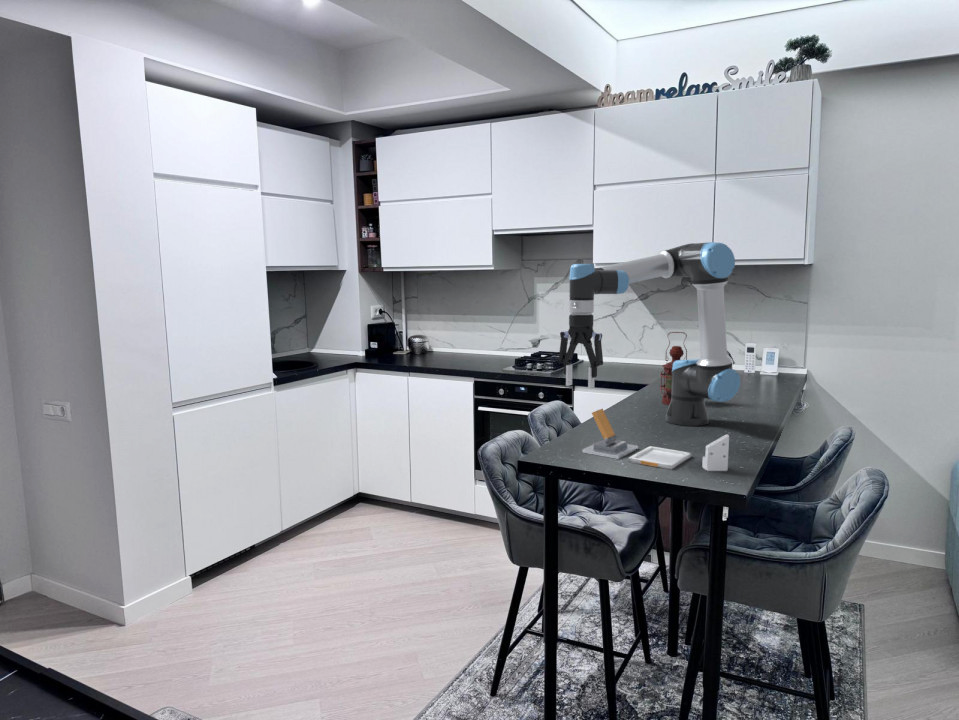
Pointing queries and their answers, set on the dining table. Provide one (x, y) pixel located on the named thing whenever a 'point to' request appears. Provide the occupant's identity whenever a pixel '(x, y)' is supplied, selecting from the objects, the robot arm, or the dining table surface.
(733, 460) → the dining table surface
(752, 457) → the dining table surface
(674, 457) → the tray
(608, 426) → the block
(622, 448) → the panel
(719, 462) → the white wedge bracket
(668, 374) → the lantern
